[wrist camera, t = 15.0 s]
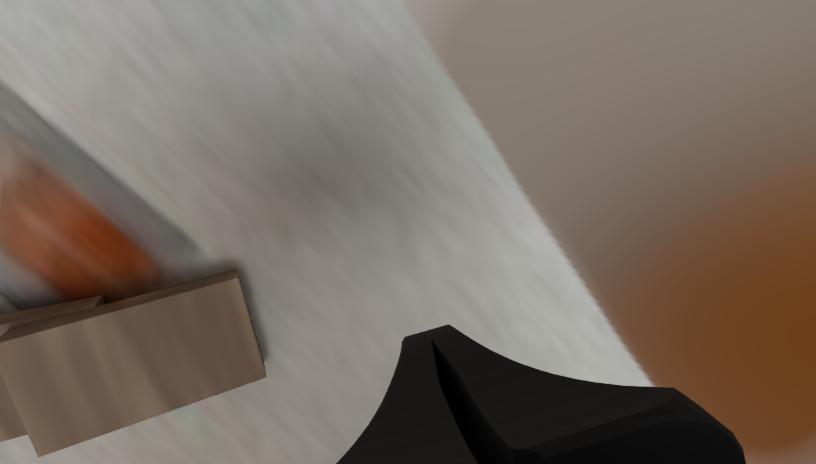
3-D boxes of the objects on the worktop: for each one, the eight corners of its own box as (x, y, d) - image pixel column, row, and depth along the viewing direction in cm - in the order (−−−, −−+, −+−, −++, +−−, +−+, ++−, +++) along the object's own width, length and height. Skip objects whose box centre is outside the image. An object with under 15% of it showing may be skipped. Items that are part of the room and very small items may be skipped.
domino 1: (237, 277, 19) (-12, 346, 16) (266, 377, 21) (38, 457, 18) (237, 269, 21) (7, 330, 18) (263, 362, 22) (52, 434, 19)
